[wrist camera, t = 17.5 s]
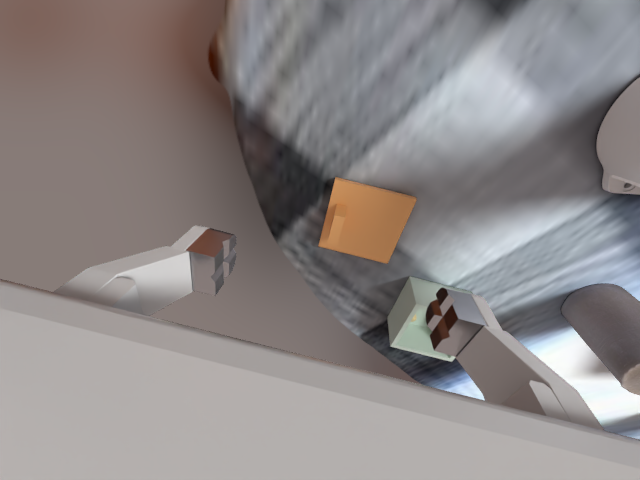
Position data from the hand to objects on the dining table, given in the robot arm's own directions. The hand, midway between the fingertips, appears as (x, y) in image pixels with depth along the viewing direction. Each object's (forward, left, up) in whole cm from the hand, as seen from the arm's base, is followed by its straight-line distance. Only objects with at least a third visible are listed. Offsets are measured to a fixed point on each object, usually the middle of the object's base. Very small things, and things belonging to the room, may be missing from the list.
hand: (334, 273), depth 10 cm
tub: (-23, +28, -31) cm, 48 cm away
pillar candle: (-49, +18, -31) cm, 61 cm away
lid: (-5, +13, -32) cm, 35 cm away
